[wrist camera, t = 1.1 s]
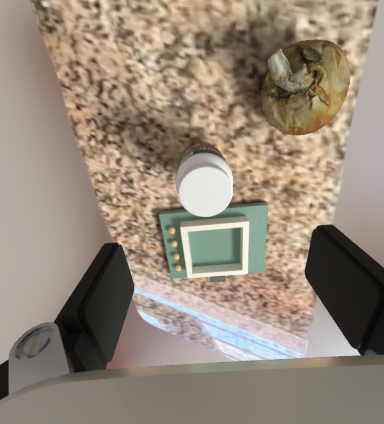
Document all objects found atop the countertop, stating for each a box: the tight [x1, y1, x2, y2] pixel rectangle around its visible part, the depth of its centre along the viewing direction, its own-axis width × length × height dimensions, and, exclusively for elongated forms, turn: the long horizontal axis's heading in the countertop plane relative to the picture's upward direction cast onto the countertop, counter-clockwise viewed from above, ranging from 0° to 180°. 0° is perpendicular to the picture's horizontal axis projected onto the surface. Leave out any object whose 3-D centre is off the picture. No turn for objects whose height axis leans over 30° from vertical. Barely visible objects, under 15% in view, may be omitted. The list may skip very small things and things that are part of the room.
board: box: [159, 202, 268, 282], centre depth 31 cm, size 12×15×3 cm
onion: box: [261, 40, 350, 135], centre depth 19 cm, size 8×8×8 cm
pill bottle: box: [176, 143, 233, 217], centre depth 22 cm, size 6×6×10 cm
